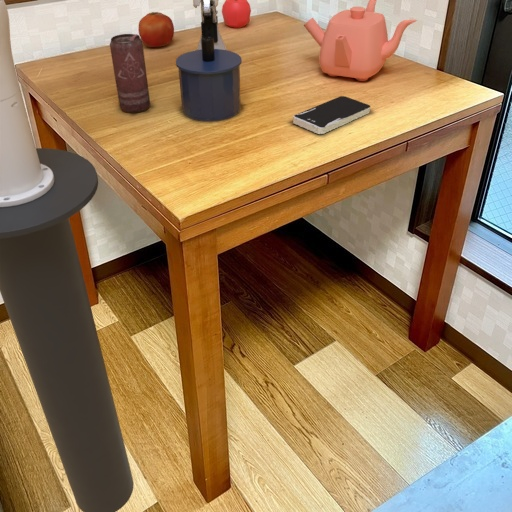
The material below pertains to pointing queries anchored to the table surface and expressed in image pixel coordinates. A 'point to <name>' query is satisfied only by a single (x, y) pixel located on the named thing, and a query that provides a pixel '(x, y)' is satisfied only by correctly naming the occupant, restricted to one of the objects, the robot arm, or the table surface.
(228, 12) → the apple
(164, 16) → the tomato
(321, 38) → the teapot
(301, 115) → the smartphone
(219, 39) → the flask
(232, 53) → the pot lid
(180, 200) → the table surface
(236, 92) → the pot
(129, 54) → the can
